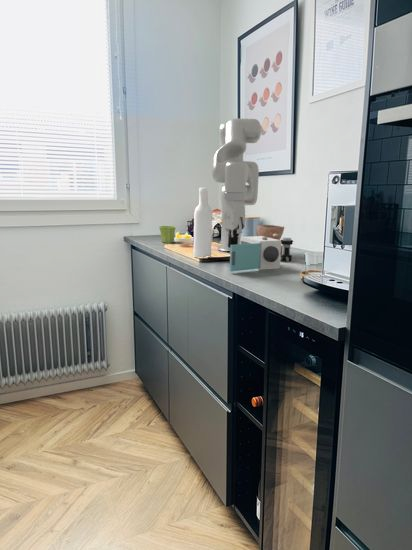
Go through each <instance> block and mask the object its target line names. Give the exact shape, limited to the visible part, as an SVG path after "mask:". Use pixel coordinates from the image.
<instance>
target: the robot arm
mask: <svg viewBox="0 0 412 550" xmlns="http://www.w3.org/2000/svg"><path fill="white" fill-rule="evenodd" d="M218 129H219V131H218V133H219V137H220V141H221V144H222V146H221V147H220V148H219V149H217V150H216V152H215V154H214V155H213V157H212V158H213V159H212V168H211V169H212V170H211V173H212V174H211V176H212V179H213V181H214V182H216V183H219V184H224V186H222V188H221V189H220V200H221V227H220V231H221V233H220V235H221V237H220V238H221V239H220V241H219V244H220V246H218V247H217V251H219V250H221V251H220V252H223V251H230V248H231V245H237V244H240V239H241V237H242V234H243V229H245V225H246V206H254V205H256V203H257V200H258V194H259V192H258V191H259V176H260V175H259V169H260V168H259V165H258V164H257V162H255V161H251V160H249V161H248V160H247V161H246V160H244V153H245V152H246V150H247V144H256V143H257V142H259V140H260V139H261V135H262V124H261V122H260V121H259V120H258V119H255V118H232V119H230V120H229V121H227V122H224V123H221V124H220V126H219V128H218ZM246 183H247V184H246Z"/></svg>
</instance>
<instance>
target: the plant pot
mask: <svg viewBox="0 0 412 550" xmlns="http://www.w3.org/2000/svg"><path fill="white" fill-rule="evenodd" d="M158 228H159V230H160V238H161V242H162V243H166V244H171V243H174V238H175V232H176V228H177V226H175V225H161V226H158Z"/></svg>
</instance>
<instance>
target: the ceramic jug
mask: <svg viewBox="0 0 412 550" xmlns="http://www.w3.org/2000/svg"><path fill="white" fill-rule="evenodd" d="M256 230H257V234H258V235H257V236H263V237H268V238H273V239H277V240H282V236H283V234H284V230H285V226H282V225H281V226H280V225H273V224H258V225H256ZM280 255H282V244H281V254H280Z"/></svg>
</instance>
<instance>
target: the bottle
mask: <svg viewBox="0 0 412 550" xmlns="http://www.w3.org/2000/svg"><path fill="white" fill-rule="evenodd" d="M198 193H199V196H198V197H199V198H198V205H197V206H196V207H195V209H194V212H193V253H192V254H193V257H194V256H196V257H206V256H211V257H212V236H213V235H212V233H213V230H212V229H213V228H212V226H213V211H212V208H211V207H210V205H209V204H208V200H209V199H208V196H209V189H208V187H199V189H198Z"/></svg>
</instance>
